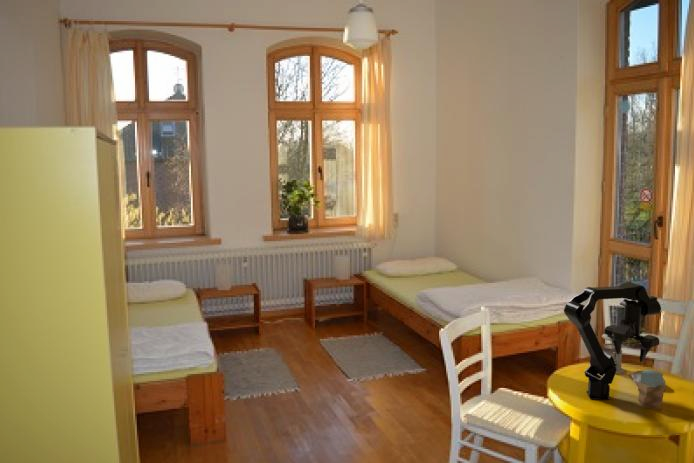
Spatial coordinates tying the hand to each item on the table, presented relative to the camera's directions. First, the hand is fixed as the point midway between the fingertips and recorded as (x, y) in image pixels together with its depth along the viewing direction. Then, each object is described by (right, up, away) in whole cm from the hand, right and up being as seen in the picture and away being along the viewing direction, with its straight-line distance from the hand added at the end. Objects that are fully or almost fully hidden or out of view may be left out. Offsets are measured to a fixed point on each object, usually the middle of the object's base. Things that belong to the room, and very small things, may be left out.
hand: (629, 357), depth 230 cm
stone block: (+10, -12, +9) cm, 18 cm away
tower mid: (+3, -11, -10) cm, 15 cm away
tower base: (+3, -15, -9) cm, 18 cm away
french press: (+3, -10, +23) cm, 25 cm away
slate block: (+3, -7, -11) cm, 13 cm away
